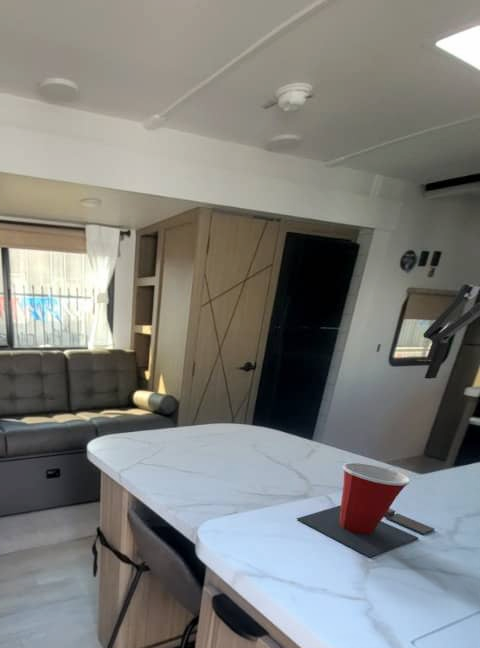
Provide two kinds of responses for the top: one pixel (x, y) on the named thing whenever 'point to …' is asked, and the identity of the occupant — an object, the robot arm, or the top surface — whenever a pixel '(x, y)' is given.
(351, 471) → the plastic cup
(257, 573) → the top surface
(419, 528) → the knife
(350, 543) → the cloth mat
